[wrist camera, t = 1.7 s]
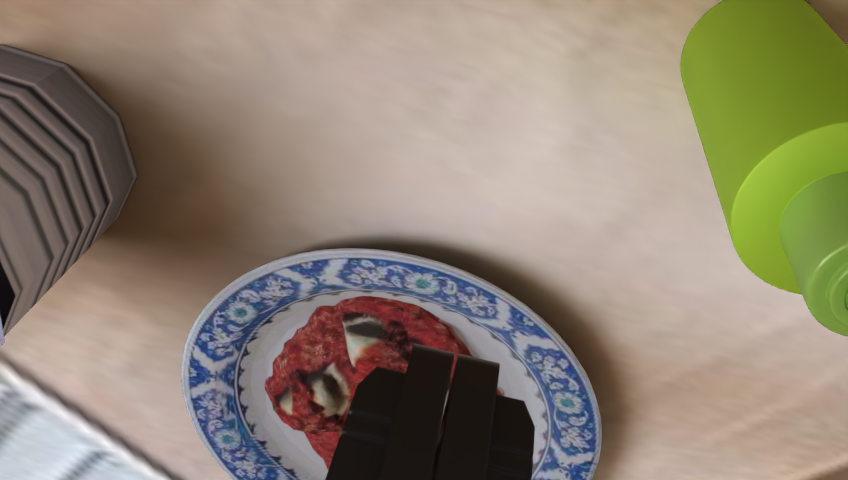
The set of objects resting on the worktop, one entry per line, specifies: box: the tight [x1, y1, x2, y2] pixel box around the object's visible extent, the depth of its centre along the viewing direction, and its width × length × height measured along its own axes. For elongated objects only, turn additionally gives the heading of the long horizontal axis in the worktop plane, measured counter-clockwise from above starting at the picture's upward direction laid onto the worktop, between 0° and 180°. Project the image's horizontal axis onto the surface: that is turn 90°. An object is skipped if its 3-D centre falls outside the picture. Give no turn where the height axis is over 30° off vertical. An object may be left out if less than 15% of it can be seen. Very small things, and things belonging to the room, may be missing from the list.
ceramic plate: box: [182, 248, 602, 480], centre depth 46 cm, size 26×26×3 cm
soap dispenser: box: [681, 0, 848, 336], centre depth 24 cm, size 6×7×20 cm
